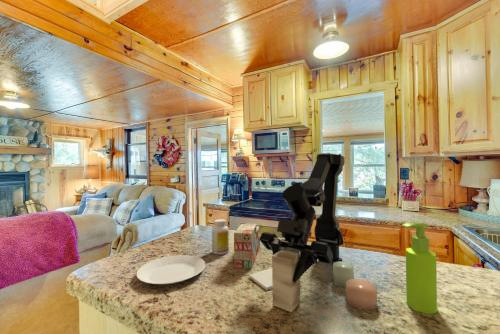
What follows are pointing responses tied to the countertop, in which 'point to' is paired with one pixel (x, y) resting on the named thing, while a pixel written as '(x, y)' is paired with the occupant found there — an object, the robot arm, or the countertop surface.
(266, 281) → the tile
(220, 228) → the supplement bottle
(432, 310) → the soap dispenser
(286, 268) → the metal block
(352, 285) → the pink soap bar
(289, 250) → the dice cube
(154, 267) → the plate
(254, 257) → the stack of blocks
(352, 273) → the sage jar
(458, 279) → the countertop surface
